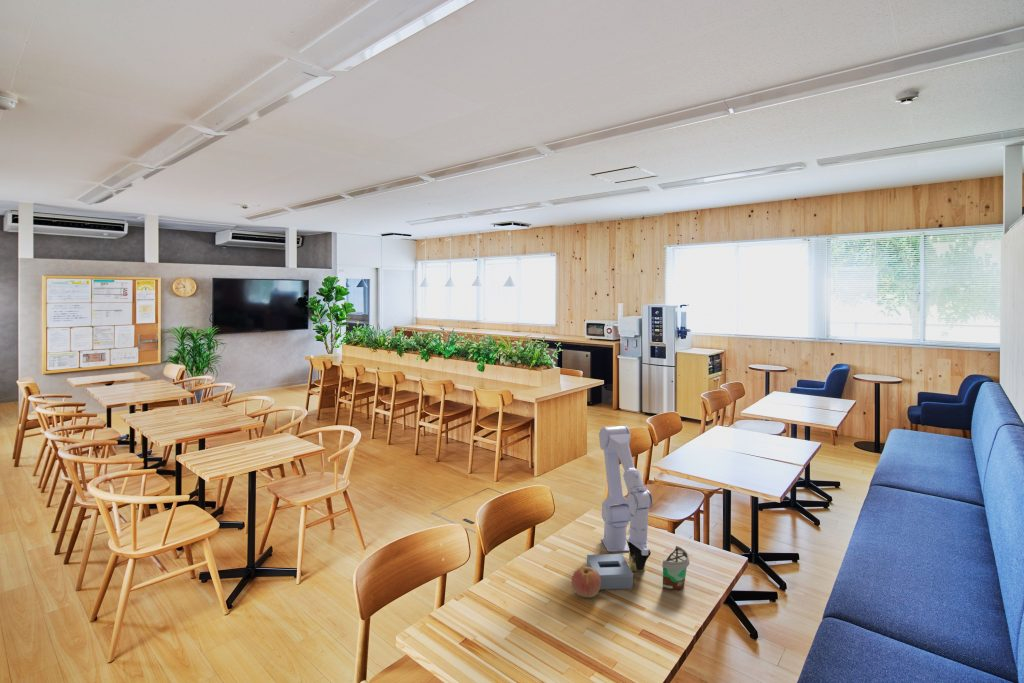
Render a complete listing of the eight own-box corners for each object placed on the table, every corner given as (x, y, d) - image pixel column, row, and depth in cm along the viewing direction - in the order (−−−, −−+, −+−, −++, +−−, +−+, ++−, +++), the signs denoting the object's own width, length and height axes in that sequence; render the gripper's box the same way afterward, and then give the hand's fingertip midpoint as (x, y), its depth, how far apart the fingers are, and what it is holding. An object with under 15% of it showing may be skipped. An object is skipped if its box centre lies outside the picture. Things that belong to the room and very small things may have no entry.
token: (628, 567, 175) (629, 553, 174) (643, 567, 175) (643, 553, 175) (630, 571, 173) (631, 556, 172) (645, 570, 173) (645, 556, 173)
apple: (599, 604, 154) (600, 579, 154) (570, 600, 156) (570, 575, 155) (600, 587, 163) (601, 564, 162) (572, 584, 165) (573, 560, 164)
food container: (680, 598, 158) (682, 567, 157) (660, 590, 162) (662, 560, 161) (693, 580, 168) (695, 551, 167) (674, 573, 172) (676, 544, 171)
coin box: (586, 568, 174) (586, 554, 173) (621, 567, 175) (622, 553, 174) (595, 590, 162) (595, 575, 161) (632, 588, 163) (633, 574, 162)
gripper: (620, 516, 179) (619, 553, 181) (633, 537, 165) (632, 577, 167) (640, 515, 180) (638, 552, 181) (655, 536, 165) (653, 576, 167)
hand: (637, 564), depth 174 cm, fingers open, 5 cm apart
